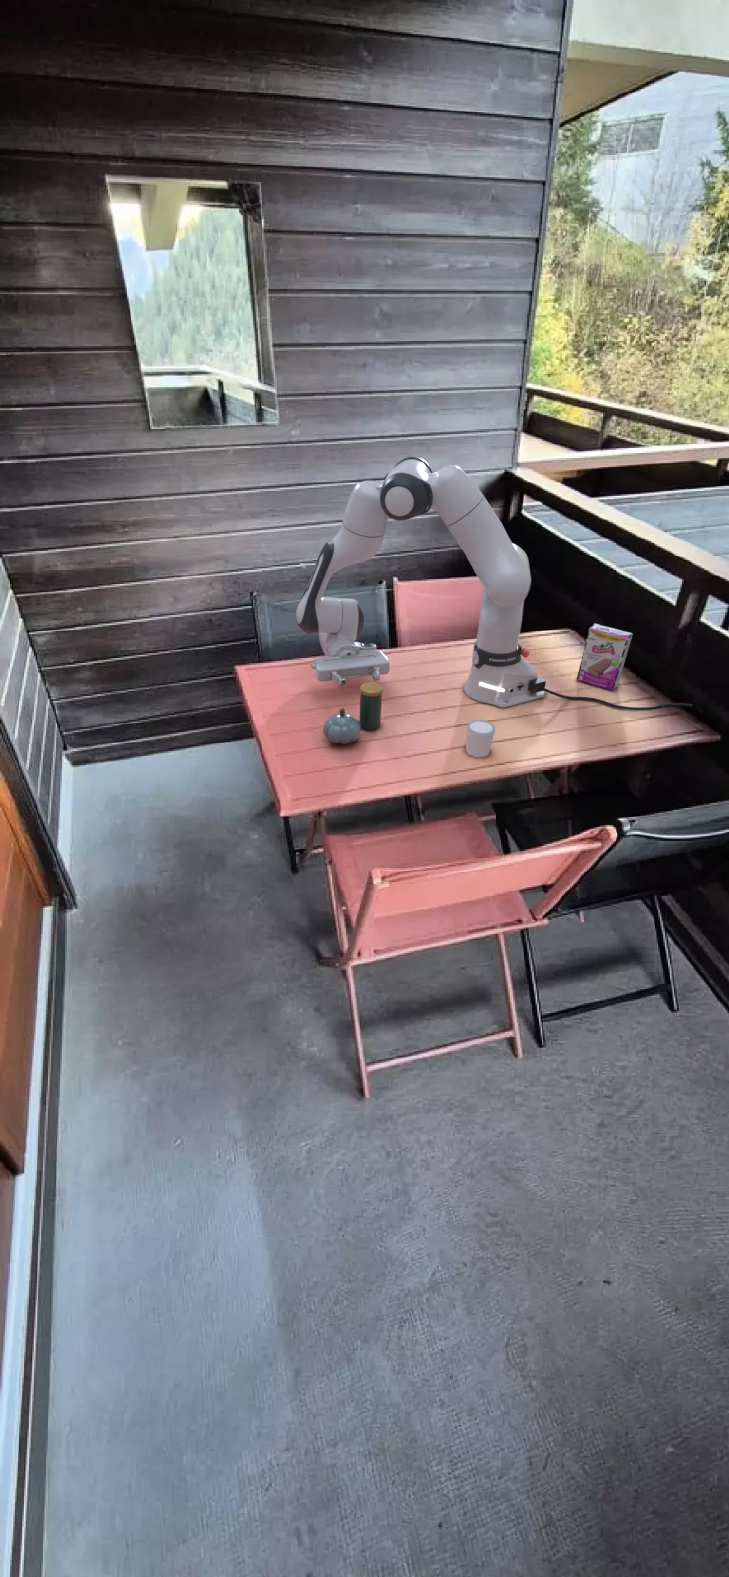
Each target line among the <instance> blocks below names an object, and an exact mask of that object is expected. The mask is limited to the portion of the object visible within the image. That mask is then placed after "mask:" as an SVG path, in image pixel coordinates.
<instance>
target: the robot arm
mask: <svg viewBox="0 0 729 1577" xmlns="http://www.w3.org/2000/svg"><path fill="white" fill-rule="evenodd" d="M430 510H432V511H434V512H435V513H436V514H437V515H438V516H439V518H440V519H441V521H442V522H443V524H444V525H445V527H446V528H447V530H448V531H449V532H450V534H451V535H452V537H453V538H454V540H455V541H456V542H457V544H458V546H459V547H460V548H461V550H462V551H463V553H464V555H465V556H466V558H467V560H468V562H469V564H470V565H471V567H472V569H473V571H474V573H475V574H476V576H477V578H478V580H479V581H480V583H481V585H482V593H481V601H480V602H481V603H480V613H479V619H478V626H477V627H478V628H477V633H476V640H475V641H474V645H473V650H472V656H471V658H472V659H471V662H472V663H471V667H470V671H469V674H468V676H467V680H466V682H465V684H464V686H463V691H464V693H465V694H466V696H467V697H469V698H471V699H472V700H475V701H477V702H480V703H484V704H490V705H493V706H495V707H499V708H502V709H504V708H509V707H512V706H516V705H519V704H524V703H527V702H531V701H535V700H539V699H541V698H544V697H545V692H546V693H547V694H551V695H553V696H556V697H559V698H562V699H567V700H576V701H577V700H581V701H593V702H596V703H600V704H604V705H607V706H608V707H609V706H610V707H612V708H616V709H622V710H628V711H629V710H630V711H649V710H650V711H652V710H656V709H660V708H663V707H662V706H666V707H687V708H692V705H693V704H692V703H691V704H690V703H662V704H658V705H655V706H654V705H653V706H639V707H636V706H635V707H634V706H626V705H620V704H619V705H618V704H615V703H612V702H609V701H605V700H602V699H599V698H596V697H588V696H569V695H565V694H560V693H558V692H555V691H553V690H550V689H548V688H546V684H547V681H546V680H545V679H544V678H542V677H541V676H539V677H538V672H537V671H536V669H535V668H534V667H533V666H532V664H530V663H529V662H528V661H526V659H525V658H528V657H529V656H530V653H531V652H530V651H529V650H528V649H527V648H525V647H524V648H523V646H521V645H520V644H519V640H520V635H521V629H522V623H523V615H524V604H525V599H526V598H527V597H528V594H529V592H530V590H531V586H532V576H531V569H530V562H529V557H528V555H527V553H526V552H525V550H523V549H522V547H520V546H519V545H517V544H516V543H513V542H512V540H511V539H510V537H509V535H508V533H507V531H506V529H505V527H504V525H503V523H502V521H501V520H500V518H499V516H498V515H497V514H496V512H495V511H494V509H493V508H492V506H491V504H490V503H489V502H488V499H486V497H485V495H484V494H483V492H482V491H481V489H480V488H479V486H477V484H476V483H475V482H474V481H473V479H472V478H471V477H470V476H469V475H468V474H467V473H466V472H465V471H464V470H463V469H462V468H461V466H458V465H455V464H450V465H449V464H448V465H445V466H443V467H441V468H439V469H438V470H437V471H435V472H433V470H432V467H431V466H430V464H429V463H428V462H427V460H425V459H423V458H422V457H420V456H419V457H418V456H408V457H405V458H403V459H401V460H400V461H398V462H397V463H396V464H395V465H394V466H393V467H392V469H390V471H389V472H388V473H387V474H385V476H384V478H383V481H381V482H379V481H378V482H377V481H374V480H362V481H360V482H358V483H357V484H355V486H354V487H353V489H352V491H351V493H350V496H349V498H348V500H347V504H346V507H345V510H344V513H343V517H342V521H341V526H340V527H339V530H338V531H337V532H336V534H335V535H334V537H333V538H332V539H331V540H329V541H327V542H325V543H324V545H323V547H322V548H321V550H320V552H319V555H318V556H317V559H316V562H315V564H314V567H313V570H312V572H311V575H310V577H309V580H308V583H307V585H306V588H305V590H304V592H303V594H302V596H301V597H300V599H299V601H298V604H297V606H296V612H295V622H296V624H297V626H298V627H299V628H300V629H301V630H302V631H303V632H304V633H306V634H318V641H319V644H320V647H321V650H322V652H323V654H324V655H325V657H319V658H316V659H314V660H313V661H311V662H310V667H311V669H313V670H314V673H315V677H316V680H317V681H318V682H331V681H332V682H335V683H337V684H338V685H339V686H345V685H346V680H349V679H359V678H365V677H371V678H372V680H373V682H378V681H380V679H381V678H380V676H384V675H387V674H389V672H390V660H389V659H388V657H387V656H386V655H385V654H384V652H382V651H381V650H379V649H377V645H376V644H374V643H366V642H360V641H359V642H358V641H357V640H358V639H359V637H360V635H361V634H362V632H363V629H364V625H365V623H364V622H365V614H364V611H363V608H362V606H361V605H360V603H359V602H358V601H357V600H356V599H355V598H346V597H331V596H324V595H325V591H326V588H327V586H328V585H329V582H330V579H331V577H333V575H334V574H335V573H336V572H338V571H340V570H342V569H345V568H349V567H351V566H355V565H359V564H363V563H365V562H368V561H370V560H371V559H373V558H374V557H375V556H376V555H377V554H378V552H379V550H381V546H382V544H383V540H384V536H385V533H386V528H387V524H388V521H389V519H392V520H394V521H398V522H400V521H402V522H403V521H407V520H411V519H413V518H416V517H419V516H422V515H424V514H427V513H428V512H430ZM693 709H695V710H696V711H698V713H700V714H703V713H702V712H703V711H702V712H701V711H700V710H698V709H696V708H693Z"/></svg>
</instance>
